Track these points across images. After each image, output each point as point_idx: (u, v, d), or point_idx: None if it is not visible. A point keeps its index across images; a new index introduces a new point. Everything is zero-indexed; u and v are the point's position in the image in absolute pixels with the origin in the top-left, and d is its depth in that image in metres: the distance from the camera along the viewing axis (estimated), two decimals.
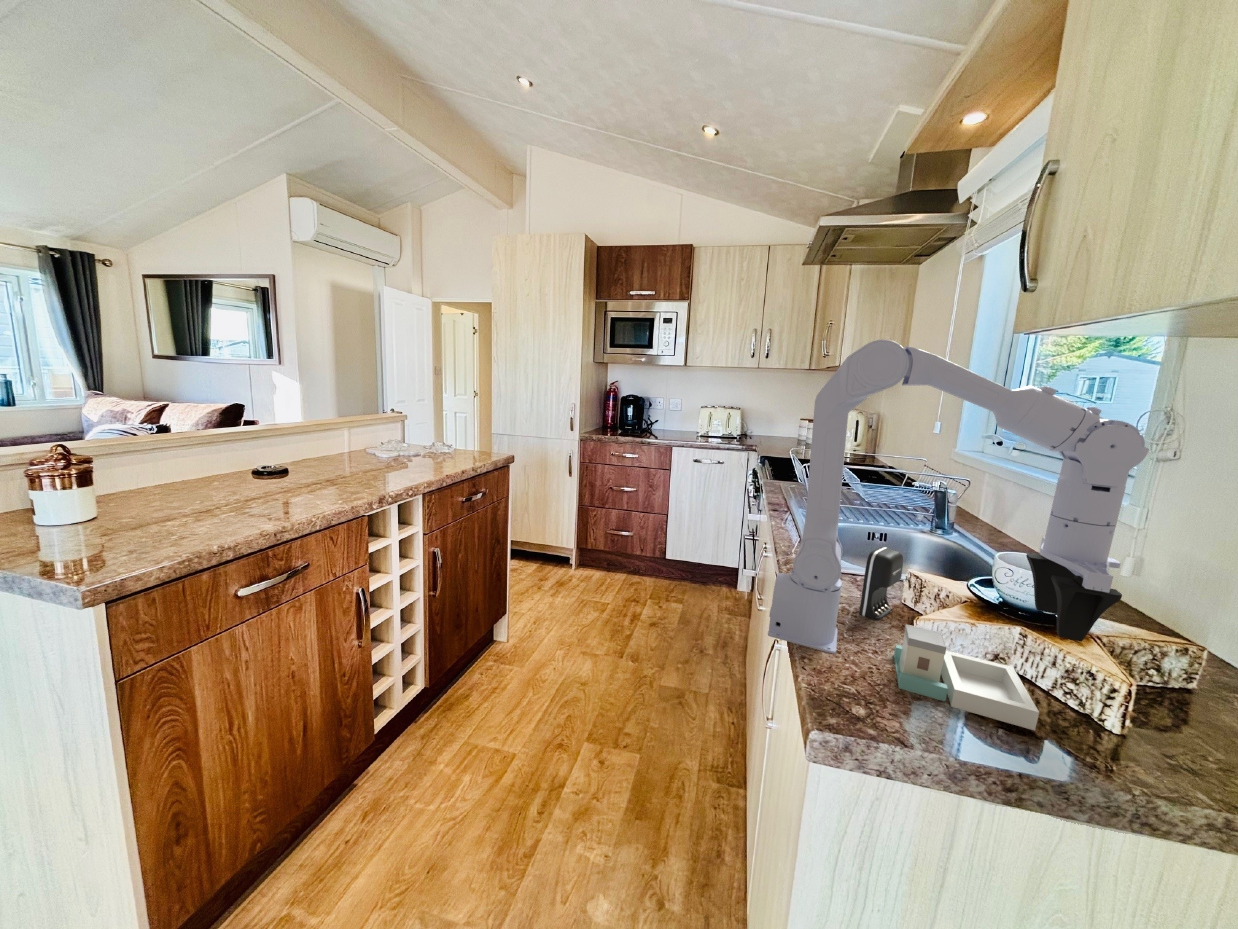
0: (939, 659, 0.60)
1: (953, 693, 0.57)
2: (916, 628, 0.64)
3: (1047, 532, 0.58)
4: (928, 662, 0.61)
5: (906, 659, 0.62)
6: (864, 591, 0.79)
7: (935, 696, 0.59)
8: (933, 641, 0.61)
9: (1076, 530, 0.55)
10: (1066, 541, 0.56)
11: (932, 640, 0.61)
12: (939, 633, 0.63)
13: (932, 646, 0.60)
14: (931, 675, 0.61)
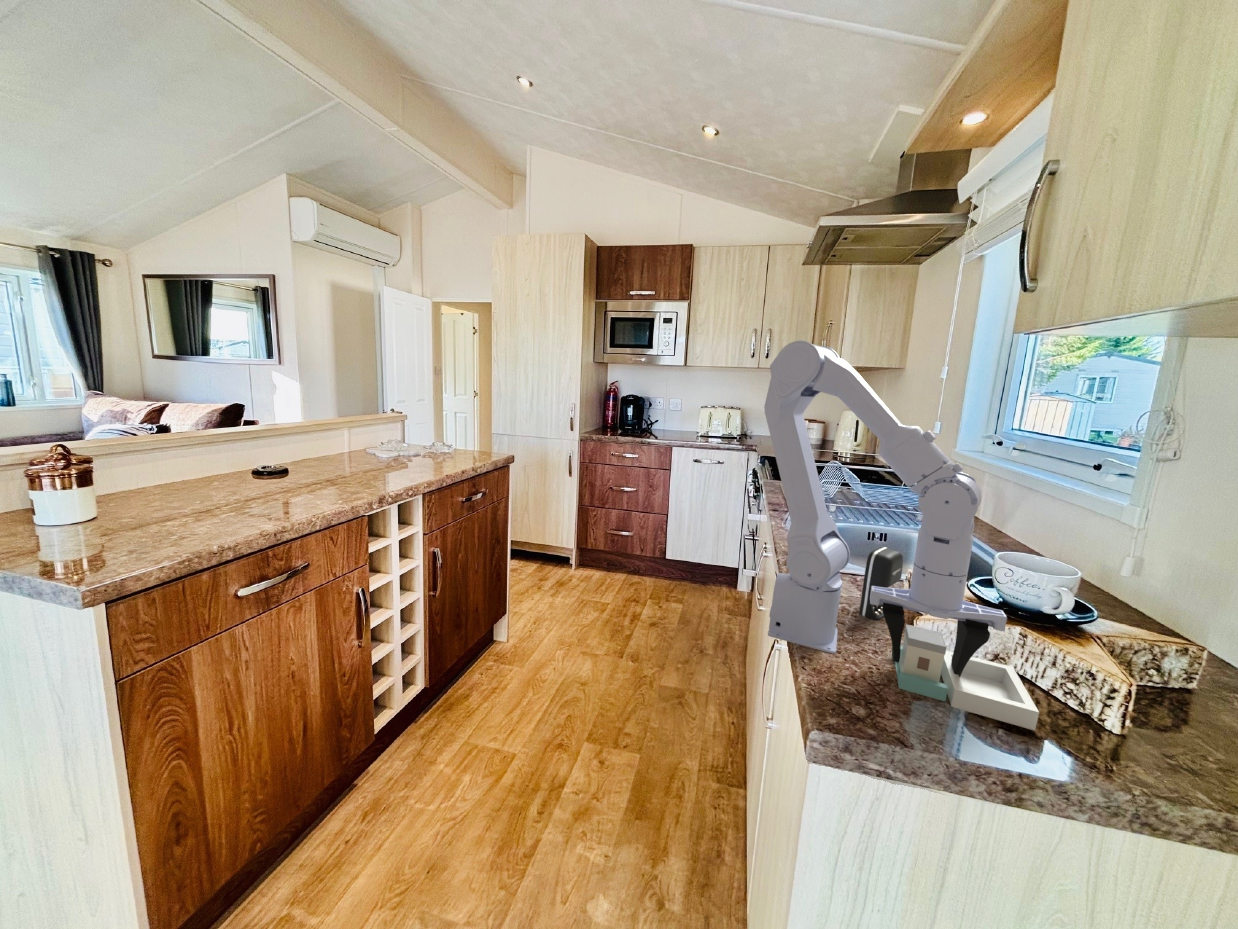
0: (939, 659, 0.60)
1: (953, 693, 0.57)
2: (916, 628, 0.64)
3: None
4: (928, 662, 0.61)
5: (906, 659, 0.62)
6: (864, 591, 0.79)
7: (935, 696, 0.59)
8: (933, 641, 0.61)
9: None
10: None
11: (932, 640, 0.61)
12: (939, 633, 0.63)
13: (932, 646, 0.60)
14: (931, 675, 0.61)
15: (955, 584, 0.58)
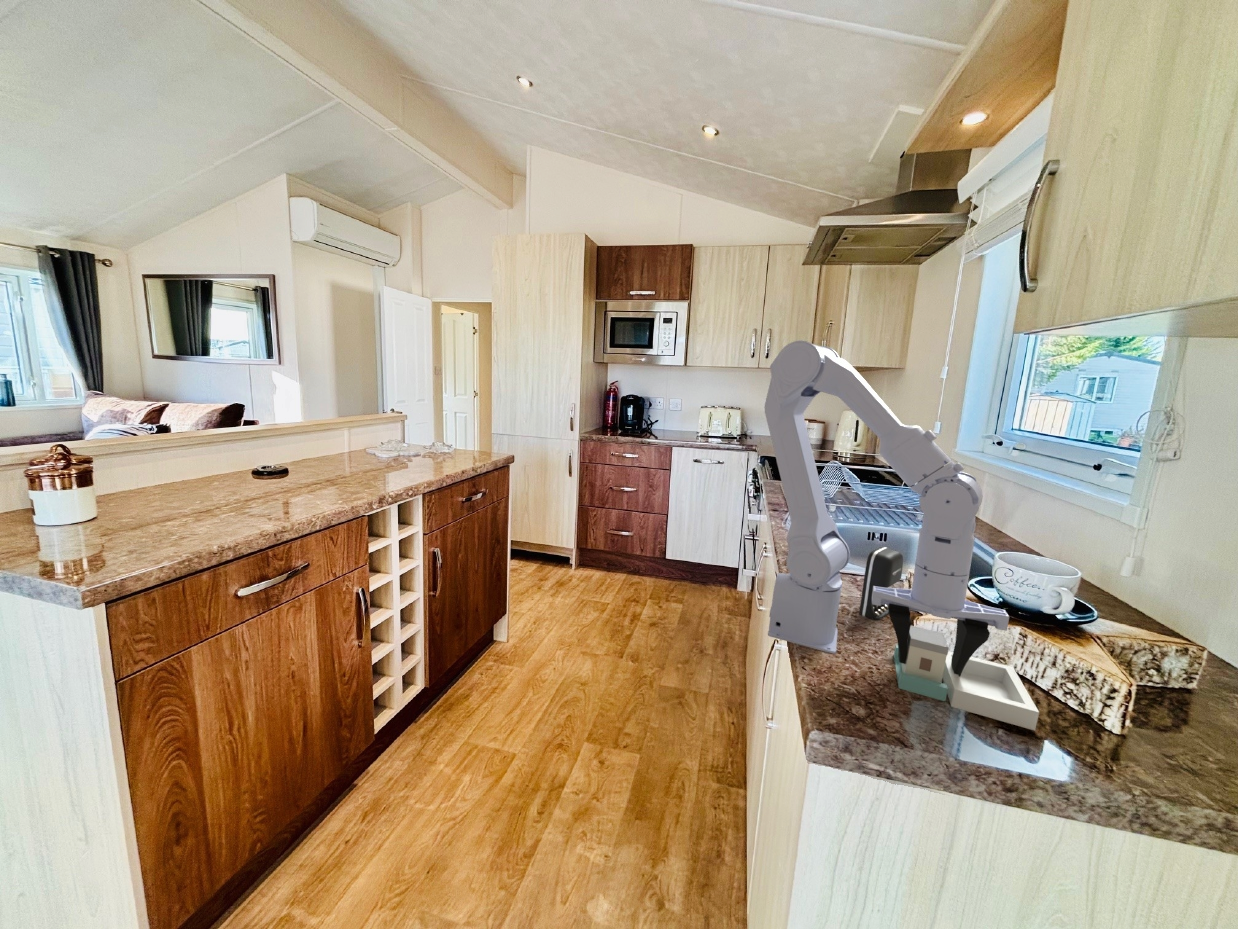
0: (942, 660, 0.60)
1: (953, 693, 0.57)
2: (918, 629, 0.64)
3: None
4: (930, 663, 0.60)
5: (908, 660, 0.62)
6: (864, 591, 0.79)
7: (935, 696, 0.59)
8: (936, 642, 0.60)
9: None
10: None
11: (934, 641, 0.61)
12: (941, 634, 0.63)
13: (934, 647, 0.60)
14: (933, 676, 0.60)
15: (957, 584, 0.58)
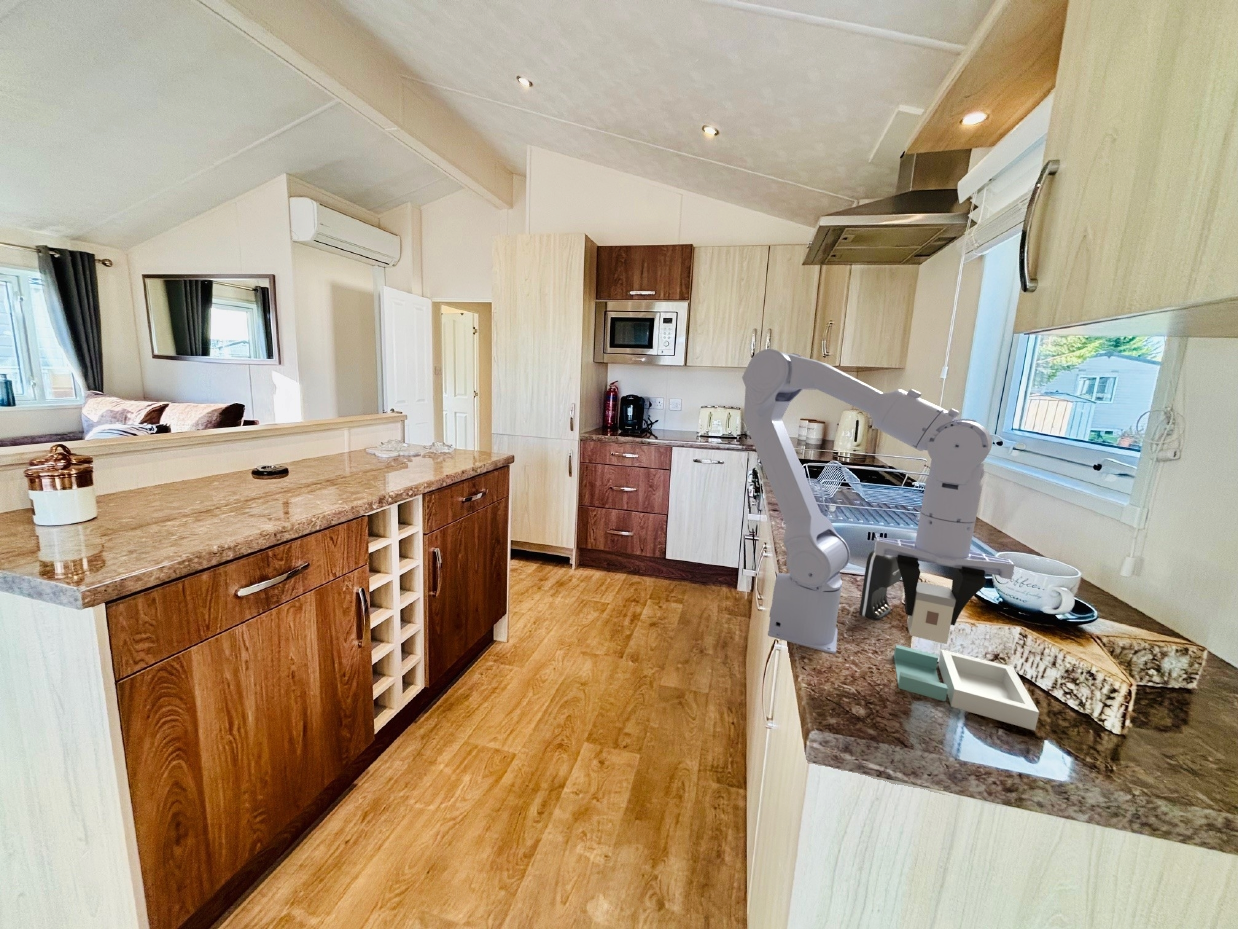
0: (948, 613, 0.59)
1: (953, 693, 0.57)
2: (924, 584, 0.63)
3: None
4: (937, 616, 0.59)
5: (914, 614, 0.61)
6: (864, 591, 0.79)
7: (935, 696, 0.59)
8: (942, 595, 0.59)
9: None
10: None
11: (941, 594, 0.60)
12: (948, 588, 0.62)
13: (941, 599, 0.59)
14: (940, 630, 0.59)
15: (963, 531, 0.57)
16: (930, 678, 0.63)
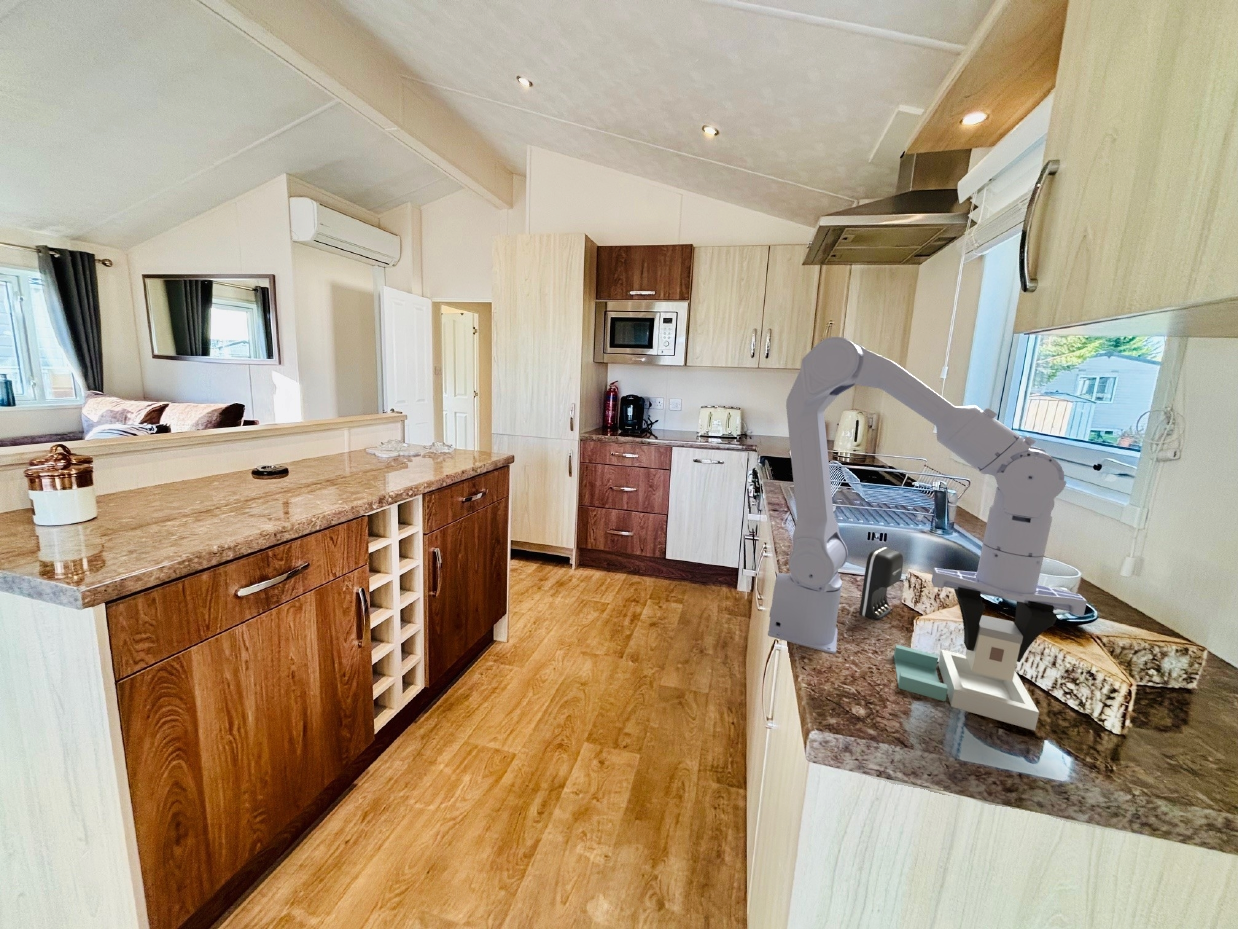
0: (1015, 650, 0.56)
1: (953, 693, 0.57)
2: (986, 617, 0.60)
3: None
4: (1002, 652, 0.57)
5: (977, 650, 0.58)
6: (864, 591, 0.79)
7: (935, 696, 0.59)
8: (1008, 631, 0.57)
9: None
10: None
11: (1006, 629, 0.57)
12: (1011, 622, 0.59)
13: (1007, 635, 0.56)
14: (1005, 667, 0.57)
15: (1032, 565, 0.54)
16: (930, 678, 0.63)
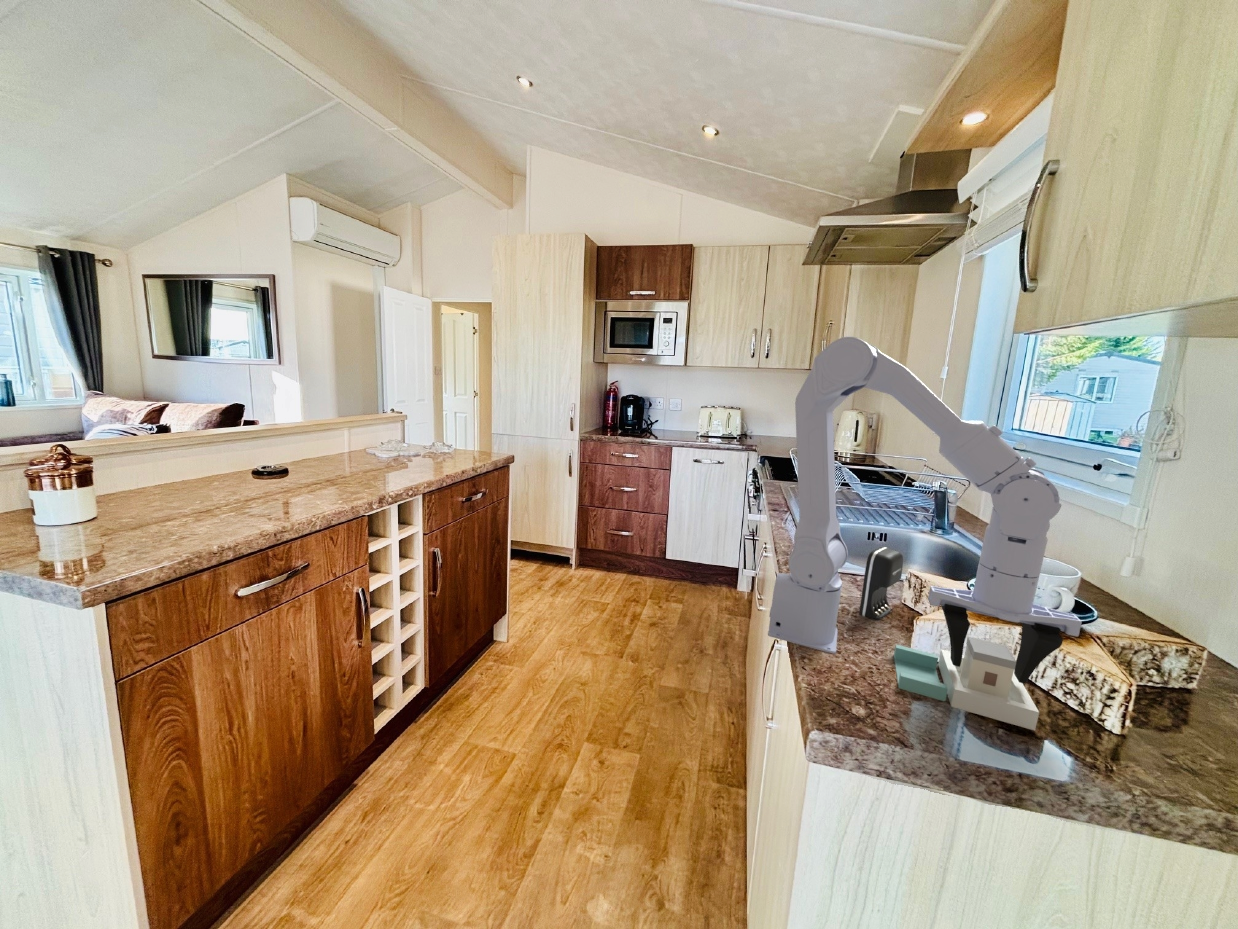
0: (1008, 674, 0.57)
1: (953, 693, 0.57)
2: (980, 641, 0.61)
3: None
4: (995, 677, 0.58)
5: (971, 674, 0.59)
6: (864, 591, 0.79)
7: (935, 696, 0.59)
8: (1001, 655, 0.58)
9: None
10: None
11: (999, 654, 0.58)
12: (1005, 646, 0.60)
13: (1000, 660, 0.57)
14: (999, 691, 0.58)
15: (1027, 586, 0.55)
16: (930, 678, 0.63)
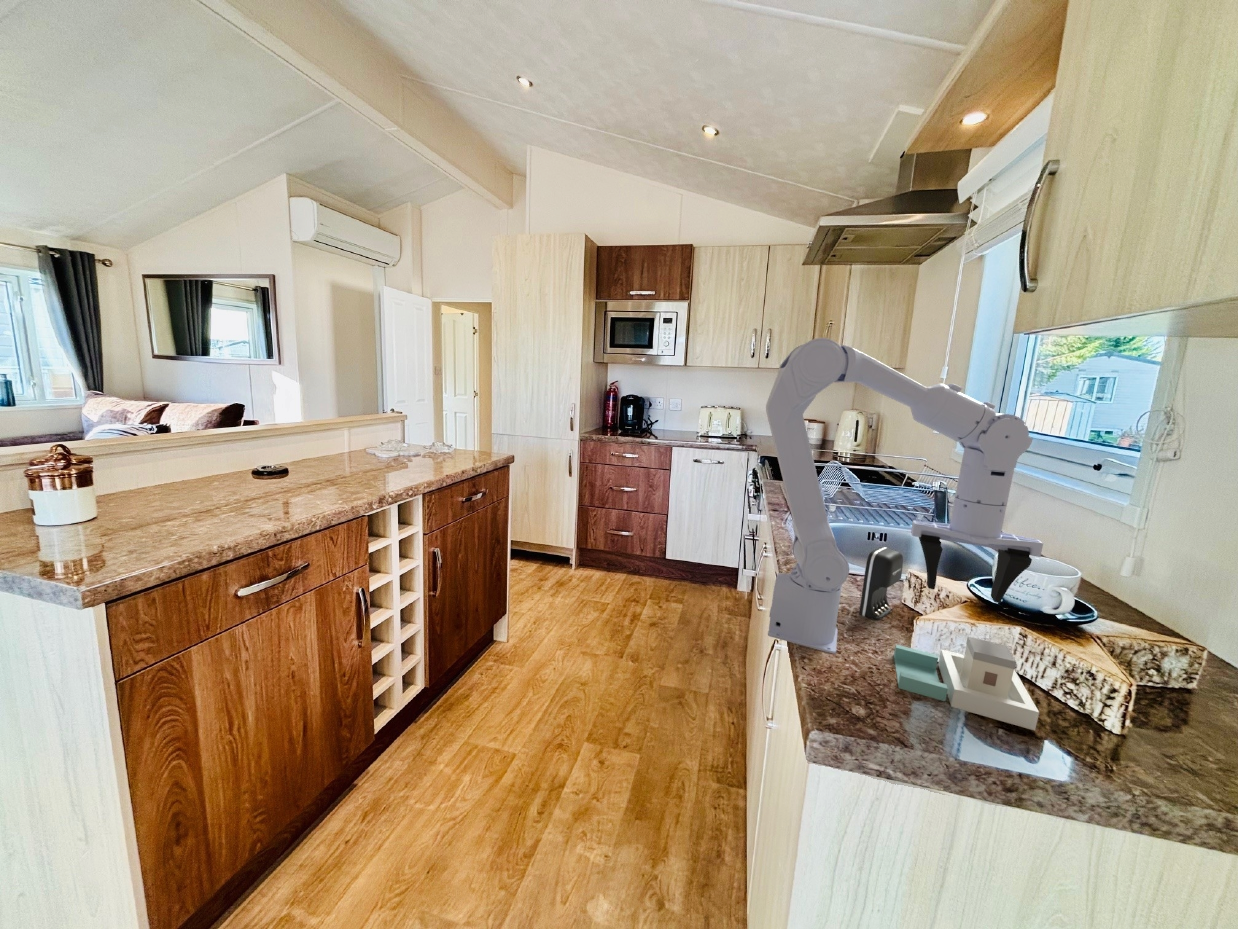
0: (1008, 674, 0.57)
1: (953, 693, 0.57)
2: (980, 641, 0.61)
3: None
4: (995, 677, 0.58)
5: (971, 674, 0.59)
6: (864, 591, 0.79)
7: (935, 696, 0.59)
8: (1001, 655, 0.58)
9: None
10: None
11: (999, 654, 0.58)
12: (1005, 646, 0.60)
13: (1000, 660, 0.57)
14: (999, 691, 0.58)
15: (996, 513, 0.62)
16: (930, 678, 0.63)
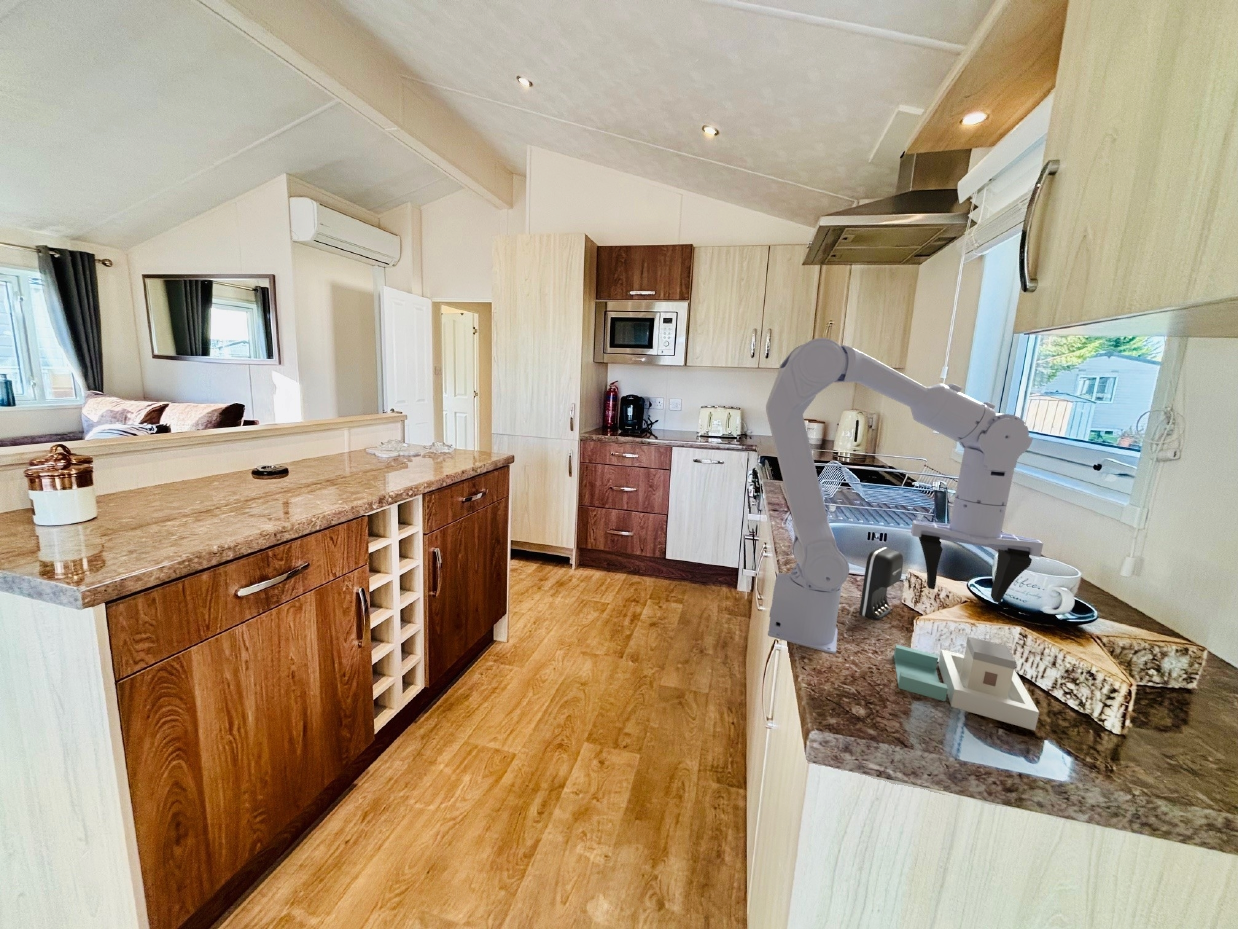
0: (1008, 674, 0.57)
1: (953, 693, 0.57)
2: (980, 641, 0.61)
3: None
4: (995, 677, 0.58)
5: (971, 674, 0.59)
6: (864, 591, 0.79)
7: (935, 696, 0.59)
8: (1001, 655, 0.58)
9: None
10: None
11: (999, 654, 0.58)
12: (1005, 646, 0.60)
13: (1000, 660, 0.57)
14: (999, 691, 0.58)
15: (996, 513, 0.62)
16: (930, 678, 0.63)
